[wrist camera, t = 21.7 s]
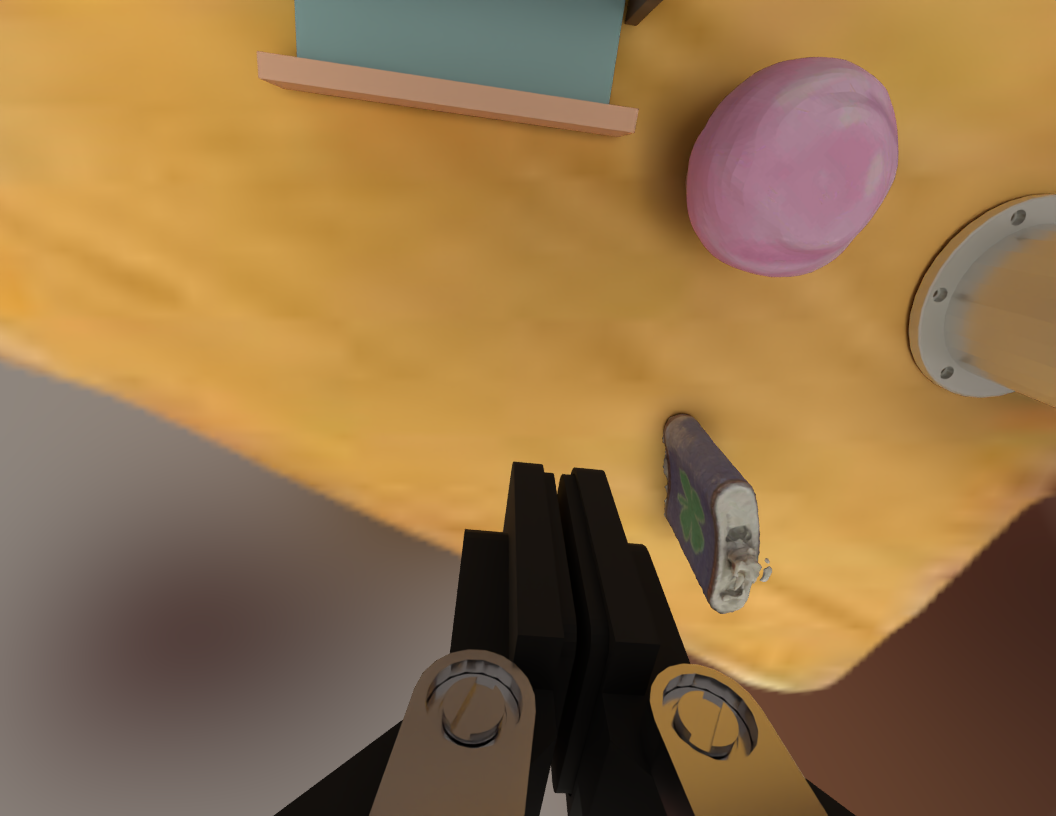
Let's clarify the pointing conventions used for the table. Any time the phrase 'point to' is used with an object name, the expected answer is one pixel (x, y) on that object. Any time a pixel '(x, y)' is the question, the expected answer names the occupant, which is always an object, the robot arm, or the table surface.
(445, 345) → the table surface
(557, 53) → the tray
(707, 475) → the flask
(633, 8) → the cabinet
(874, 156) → the cupcake
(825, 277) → the table surface
